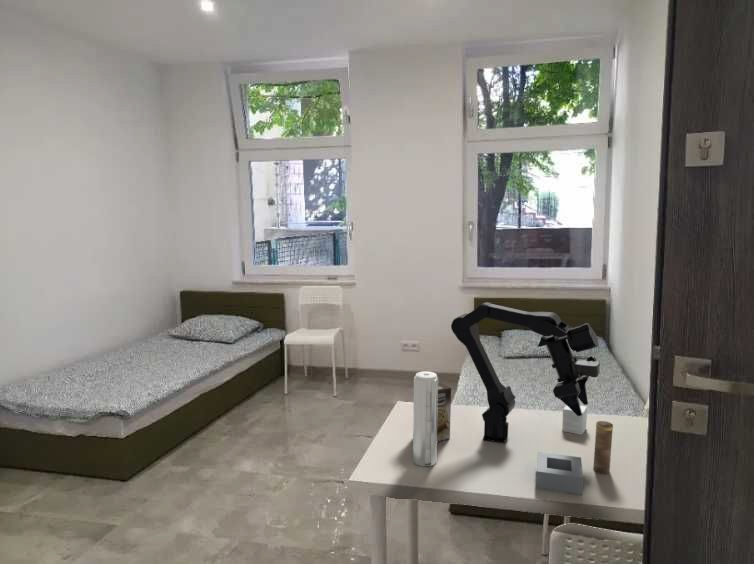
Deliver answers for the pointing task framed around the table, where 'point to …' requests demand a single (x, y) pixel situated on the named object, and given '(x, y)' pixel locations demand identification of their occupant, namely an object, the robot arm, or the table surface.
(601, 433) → the peg
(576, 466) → the socket block
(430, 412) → the air filter
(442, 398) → the coffee box
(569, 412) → the product box
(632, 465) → the table surface
